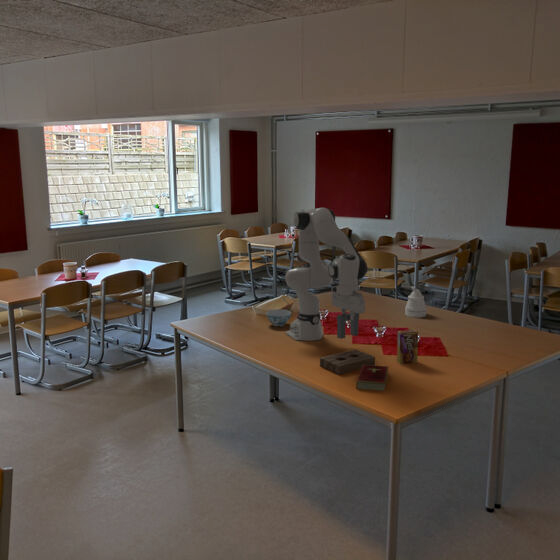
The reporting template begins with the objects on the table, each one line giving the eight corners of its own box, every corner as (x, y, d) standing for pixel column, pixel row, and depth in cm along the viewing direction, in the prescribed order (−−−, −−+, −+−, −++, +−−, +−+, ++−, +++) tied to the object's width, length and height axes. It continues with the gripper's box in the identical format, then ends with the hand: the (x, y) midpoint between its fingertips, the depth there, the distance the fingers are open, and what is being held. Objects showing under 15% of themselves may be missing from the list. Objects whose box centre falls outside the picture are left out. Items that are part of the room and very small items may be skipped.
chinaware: (291, 328, 328) (291, 315, 326) (265, 328, 328) (265, 315, 326) (291, 321, 342) (291, 309, 341) (266, 321, 343) (266, 309, 341)
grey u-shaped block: (336, 337, 260) (336, 315, 258) (354, 333, 266) (355, 312, 264) (340, 338, 257) (340, 316, 255) (358, 334, 263) (359, 313, 261)
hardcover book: (356, 389, 236) (356, 380, 236) (361, 372, 256) (361, 363, 255) (385, 392, 233) (385, 382, 233) (388, 374, 253) (388, 365, 252)
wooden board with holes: (320, 365, 264) (319, 357, 264) (355, 357, 276) (355, 349, 275) (338, 374, 253) (338, 366, 252) (375, 364, 265) (375, 356, 264)
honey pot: (404, 316, 350) (405, 288, 346) (406, 311, 362) (406, 284, 358) (425, 318, 346) (426, 289, 343) (426, 312, 358) (427, 285, 355)
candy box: (414, 360, 270) (415, 329, 267) (417, 363, 266) (418, 332, 263) (396, 361, 269) (397, 330, 266) (399, 364, 265) (400, 333, 262)
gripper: (368, 292, 251) (368, 322, 253) (339, 285, 267) (339, 313, 270) (357, 294, 247) (357, 324, 250) (329, 287, 264) (329, 315, 267)
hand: (348, 318), depth 260 cm, fingers closed on grey u-shaped block, 3 cm apart
